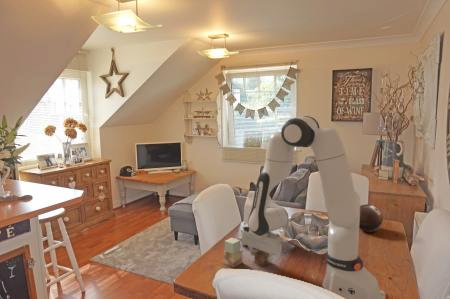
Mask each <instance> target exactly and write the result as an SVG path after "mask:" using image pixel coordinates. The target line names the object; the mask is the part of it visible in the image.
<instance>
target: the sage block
mask: <svg viewBox="0 0 450 299" xmlns="http://www.w3.org/2000/svg"><path fill="white" fill-rule="evenodd" d="M240 250H241V241H240V240H239V239H238V238H234V237H230V238H228V239H226V240H224V251H225V252H228V253H231V254H235V253H237V252H239V251H240Z"/></svg>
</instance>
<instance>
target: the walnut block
mask: <svg viewBox="0 0 450 299" xmlns="http://www.w3.org/2000/svg"><path fill="white" fill-rule="evenodd" d="M268 257H270V255H269V253H267V252H264V251H262V250H259V249H257V251H255V253H254V264H256V265H259V266H261V267H265V266H266V265H268V264H269V263H270V262H268V261H267V258H268Z"/></svg>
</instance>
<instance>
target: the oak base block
mask: <svg viewBox="0 0 450 299" xmlns="http://www.w3.org/2000/svg"><path fill="white" fill-rule="evenodd" d="M223 264H225V265H226V266H229V267H231V268H235V267H237V266H239V265H241V264H243V250H242V249H240V251H239V252H237V253H235V254H231V253H228V252H225V250H223Z"/></svg>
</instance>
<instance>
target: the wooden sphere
mask: <svg viewBox="0 0 450 299" xmlns="http://www.w3.org/2000/svg"><path fill="white" fill-rule="evenodd" d="M383 218H384V216H383V214H382V212H381V210H380V209H379V208H377V207H376V206H374V205H372V204H362V205H361V204H360V222H359V230H361V231H364V232H368V233H370V232H371V233H372V232H374V231H376V230H378V229H380V228H381V227H382V225H383V220H384V219H383Z"/></svg>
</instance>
